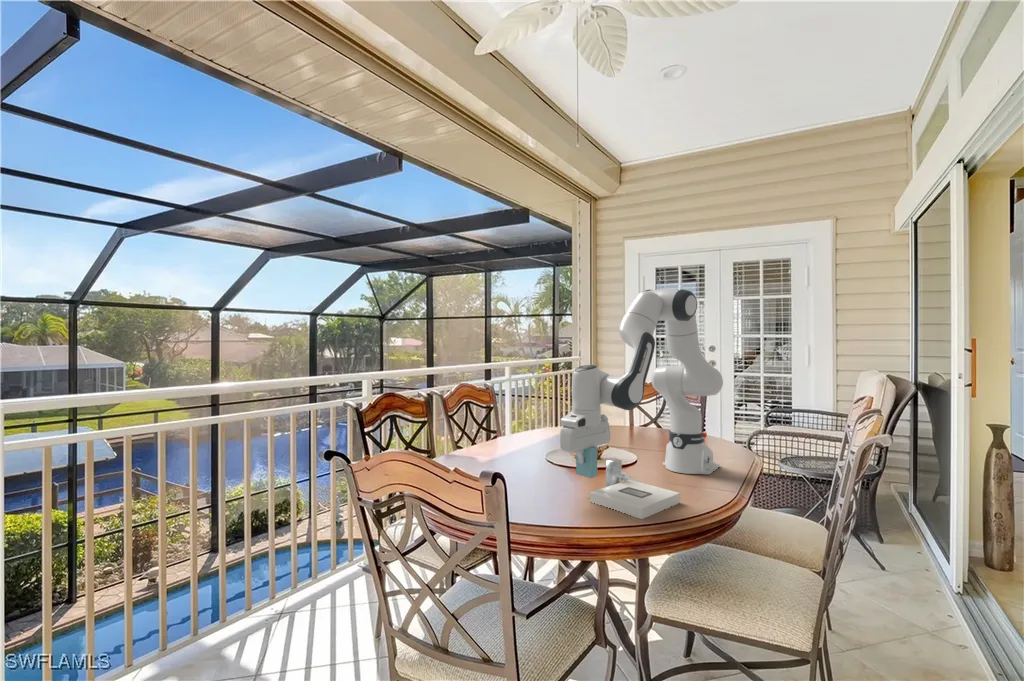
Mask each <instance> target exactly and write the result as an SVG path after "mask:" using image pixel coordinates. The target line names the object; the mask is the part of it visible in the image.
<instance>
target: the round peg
mask: <svg viewBox="0 0 1024 681" xmlns="http://www.w3.org/2000/svg"><path fill="white" fill-rule="evenodd" d="M622 465H623V464H622V460H621V459H618V458H607V459H606V460H605V487H608V486H611V485H614V484H617V483H620V482H623V480H622V471H623V470H622V469H623V468H622V467H623V466H622Z"/></svg>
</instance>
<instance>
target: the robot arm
mask: <svg viewBox="0 0 1024 681" xmlns="http://www.w3.org/2000/svg"><path fill="white" fill-rule="evenodd" d="M697 308H698V299H697V297H696V296H695V294H694V293H693V291H690V290H687V289H682V288H681V289H677V288H661V289H660V288H659V289H645V290H642V291H641V292H639V293H638V294H637V295H636V296H635V297H634V298H633V300H632V301H631V303H629V305H628V307H627V309H626V311H625V313H624V315H623V317H622V319H621V321H620V323H619V327H618V333H619V336H620V338H621V340H622V341H623V342H624V343H625V344H627V345H628V346H629V347H631V348H632V349H633V354H632V357H631V360H630V363H629V367H628V369H627V372H626V373H625V374H624V375H614V374H610V373H607V372H605V371H603V370H601V369H600V368H599V367H598V366H597V365H596V364H585V365H581V366H577V367H576V368H575V369H574V370H573V373H572V379H571V396H572V405H571V411H570V412H569V413H567V414H566V415H564V416H562V418H560V419H559V420H560V421H559V422H560V426H561V429H560V433H559V434H560V435H559V443H560V444H559V445H560V449H561V451H562V452H564V453H568V454H569V453H570V454H571V453H574V452H575V455H576V454H577V456H578V462H579V463H581V464H583V463H585V462H586V461H585V460H586V457H583V454H582V453H583V449H587V448H590V447H597V448H598V446H601V445H605V444H610V442H611V428H610V423H609V418H608V417H607V415H606V414H603V413H601V411H602V410H601V404H602V405H605V406H609V407H616V408H619V409H622V410H624V411H633V410H635V409H636V408H637V407H638V406H639V405H640V404H641V403H642V401H643V399H644V394H645V386H646V385H645V384H646V380H647V376H648V373H649V370H650V366H651V363H652V360H653V356H654V353H655V349H656V348H655V347H656V340H655V338H654V332H655V329H656V327H657V325H658V323H659V321H662V322H663V321H665V323H664V327H665V328H664V329H665V338H666V348H667V352H668V354H669V356H671V357H672V358H673V359H676V360H677V361H679V362H680V363H681V364H682V365H664V366H658V367H656V368H655V369H654V370H653V372H652V374H651V380H650V381H651V385H652V387H653V388H654V391H656V392H657V393H658V394H660V395H661V397H662V398H663V399H664V401H665V402H666V404H667V407H668V412H669V420H670V421H669V422H670V423H669V424H670V425H669V426H670V427H669V428H670V430H668V431H669V432H668V441H669V442H668V443H667V444H666V449H665V461H662V465H663V466H665V469H667V470H668V471H671V472H675V473H680V474H687V475H711V474H712V473H714V472H715V471H716V470H717V469H719V468H720V466H721V465H720V463H718V462H715V461H714V453H713V450H712V449H711V448H710V447H709V446H708V445H707V444H706V443H705V438H707V436H708V433H707V431H705V432H704V431H702V418H703V416H702V415H703V414H702V413H701V410H700V409H699V408H698V407H696V406H695V405H693V404H691V403H690V402H689V401H688V400H687V397H686V396H694V397H695V396H696V397H710V396H716V395H718V394H719V393H720V392H721V390H722V388H723V385H724V379H723V376H722V373H721V372H720V371H719V369H717V368H716V367H714V366H712V364H710V363H709V362H708V360H706V358H705V356H704V355H703V353H702V350H701V347H700V342H699V333H698V323H697V319H696V314H695V313H696V312H697ZM718 467H719V468H718ZM713 471H714V472H713Z"/></svg>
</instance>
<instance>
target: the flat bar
mask: <svg viewBox="0 0 1024 681" xmlns="http://www.w3.org/2000/svg"><path fill="white" fill-rule="evenodd" d="M582 454H583V457H586V460H585V461H586V462H585V463H583V464H581V463H579V462H578V456H577V454H576V453H575V469H576V470H575V475H578V476H583V477H585V478H589V479H593V478H596V477H598V446H597V447H590V448H587V449H583V453H582Z"/></svg>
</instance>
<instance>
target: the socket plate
mask: <svg viewBox="0 0 1024 681" xmlns="http://www.w3.org/2000/svg"><path fill="white" fill-rule="evenodd" d="M640 482H641V481H639V482H636V481H633V480H627V481H622V482H620V483H617V484H614V485H611V486H608V487H606V486H605V487H602V488H600V489H596V490H594V491H590V492H589V503H591V502H592V503H591V504H594V503H595V504H594V505H597V504H599V505H598V506H600V505H603V506H605V507H604V508H606V507H608V508H607V509H609V508H611V509H610V510H612V509H614V510H613V511H615V510H617V511H616V512H618V511H620V512H619V513H621V512H622V513H621V514H624V513H626V514H625V515H627V514H628V516H630V515H631V516H630V517H633V518H637V519H639V520H643V519H646V518H648V517H651V516H653V515H655V514H657V513H659V512H662V511H664V509H665V510H667V509H669V508H671V506H672V507H674V506H676V505H678V503H679V504H680V503H681V493H680V492H678V491H673V490H670V489H666V488H663V487H659V486H655V485H651V484H647V483H645V482H644V483H643V482H641V483H640ZM603 506H602V507H603Z"/></svg>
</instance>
